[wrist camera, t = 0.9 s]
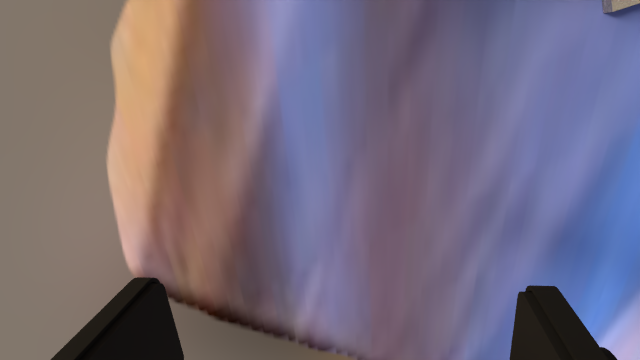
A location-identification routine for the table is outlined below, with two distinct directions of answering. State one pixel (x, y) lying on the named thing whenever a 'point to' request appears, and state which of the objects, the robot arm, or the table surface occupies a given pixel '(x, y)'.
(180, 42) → the table surface
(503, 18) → the table surface
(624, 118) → the table surface
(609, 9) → the block
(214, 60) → the table surface
